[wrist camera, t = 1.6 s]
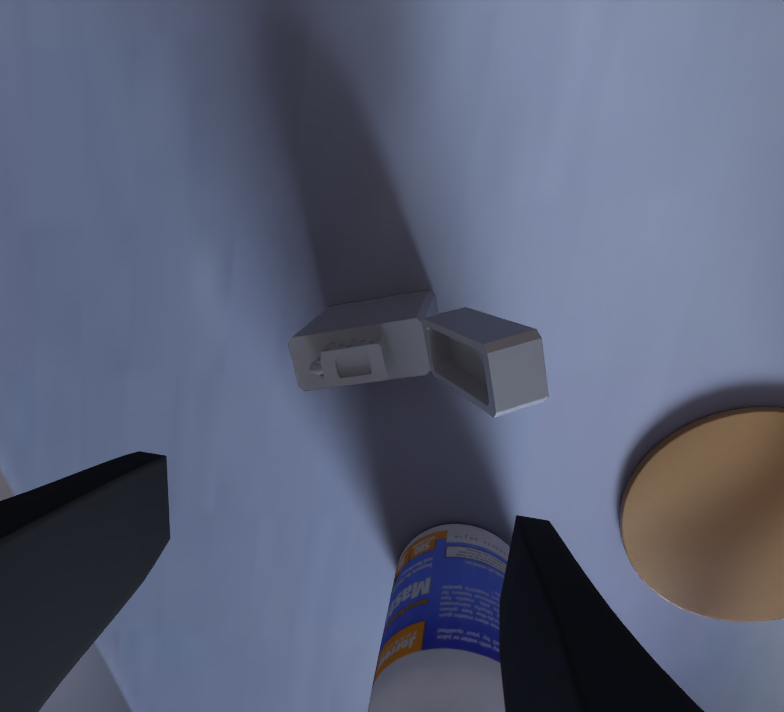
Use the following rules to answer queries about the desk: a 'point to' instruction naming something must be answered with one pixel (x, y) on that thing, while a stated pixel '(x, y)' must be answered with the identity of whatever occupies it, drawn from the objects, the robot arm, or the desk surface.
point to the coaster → (712, 516)
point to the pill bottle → (443, 625)
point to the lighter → (423, 350)
